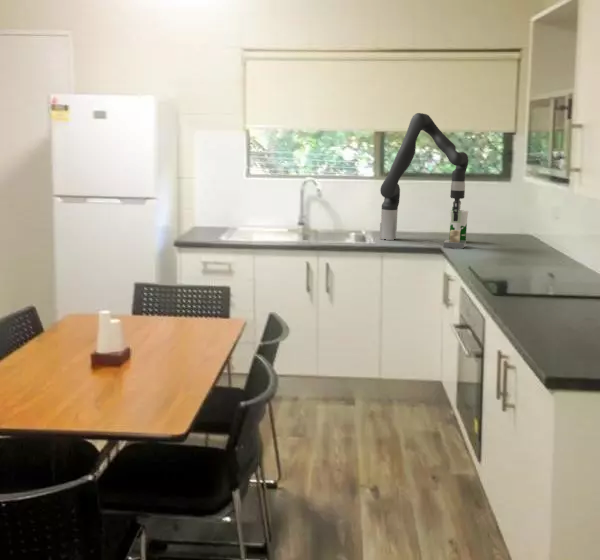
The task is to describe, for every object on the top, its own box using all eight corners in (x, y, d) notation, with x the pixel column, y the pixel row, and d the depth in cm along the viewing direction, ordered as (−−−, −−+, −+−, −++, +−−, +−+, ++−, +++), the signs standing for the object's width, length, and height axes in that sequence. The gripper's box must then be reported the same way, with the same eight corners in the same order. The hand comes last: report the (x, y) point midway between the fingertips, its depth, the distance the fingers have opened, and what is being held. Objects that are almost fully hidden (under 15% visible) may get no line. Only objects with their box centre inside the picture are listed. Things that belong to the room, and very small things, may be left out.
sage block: (450, 222, 460) (451, 211, 458) (451, 221, 464) (452, 210, 463) (460, 223, 458) (460, 212, 457) (461, 221, 463) (461, 211, 462)
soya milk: (453, 240, 489) (455, 205, 485) (468, 241, 484) (470, 207, 480) (446, 241, 482) (448, 206, 478) (461, 243, 477) (463, 208, 473)
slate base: (443, 247, 460) (443, 242, 460) (445, 244, 471) (446, 239, 470) (463, 248, 457) (464, 243, 457) (465, 246, 468) (465, 240, 467)
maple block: (449, 241, 462) (450, 230, 461) (450, 240, 466) (451, 229, 465) (458, 242, 460) (459, 231, 459) (459, 241, 465) (460, 230, 464)
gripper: (463, 190, 450) (461, 222, 453) (466, 188, 464) (464, 219, 467) (449, 190, 452) (447, 221, 455) (452, 188, 466) (450, 218, 469)
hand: (456, 220), depth 461 cm, fingers closed on sage block, 5 cm apart
